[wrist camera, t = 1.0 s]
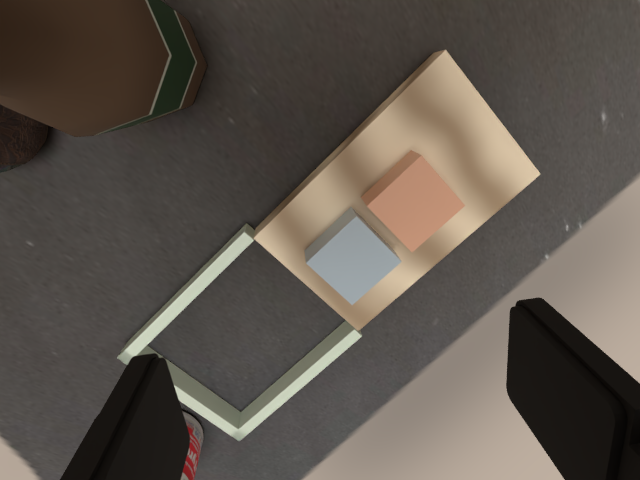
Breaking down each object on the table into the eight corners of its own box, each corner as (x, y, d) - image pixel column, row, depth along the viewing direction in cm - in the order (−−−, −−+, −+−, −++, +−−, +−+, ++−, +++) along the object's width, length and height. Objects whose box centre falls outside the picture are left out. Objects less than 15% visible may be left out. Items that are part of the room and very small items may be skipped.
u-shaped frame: (246, 223, 34) (244, 231, 32) (357, 322, 38) (362, 336, 36) (126, 342, 37) (116, 357, 35) (241, 423, 41) (239, 441, 39)
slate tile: (351, 206, 32) (356, 215, 29) (393, 249, 33) (401, 261, 31) (304, 250, 33) (305, 263, 30) (347, 290, 34) (352, 305, 32)
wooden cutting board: (433, 52, 31) (445, 49, 28) (523, 168, 34) (540, 174, 32) (255, 227, 34) (253, 238, 32) (353, 316, 38) (358, 331, 35)
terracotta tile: (411, 149, 30) (421, 155, 28) (452, 196, 32) (465, 205, 30) (360, 197, 31) (366, 206, 29) (403, 240, 33) (412, 252, 31)
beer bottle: (146, -28, 28) (-460, -528, 5) (232, 67, 30) (72, 9, 8) (71, 57, 29) (-667, -47, 7) (159, 141, 31) (-162, 279, 9)
